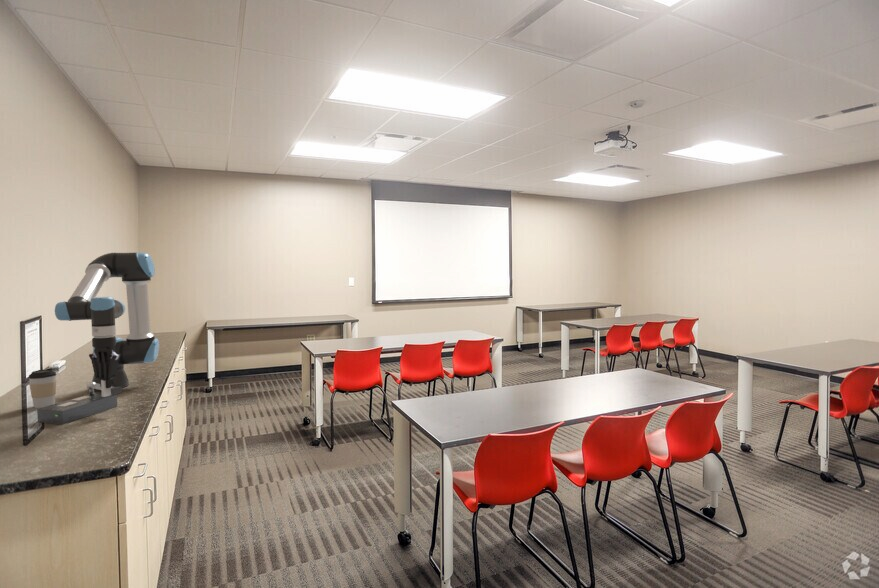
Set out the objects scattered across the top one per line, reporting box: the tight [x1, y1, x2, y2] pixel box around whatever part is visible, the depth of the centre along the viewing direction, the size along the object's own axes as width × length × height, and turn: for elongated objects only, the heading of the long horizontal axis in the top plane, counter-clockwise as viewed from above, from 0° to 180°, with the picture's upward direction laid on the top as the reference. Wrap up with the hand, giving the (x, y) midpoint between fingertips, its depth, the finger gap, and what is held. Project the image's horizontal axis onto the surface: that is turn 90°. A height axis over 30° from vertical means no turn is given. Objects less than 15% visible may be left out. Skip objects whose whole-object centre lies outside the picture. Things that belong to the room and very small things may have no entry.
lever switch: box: [36, 388, 118, 425], centre depth 181 cm, size 22×12×8 cm, turn 167°
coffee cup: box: [27, 368, 57, 409], centre depth 193 cm, size 9×9×15 cm
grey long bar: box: [86, 381, 123, 395], centre depth 187 cm, size 21×3×2 cm, turn 63°
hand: (106, 395), depth 181 cm, fingers closed
